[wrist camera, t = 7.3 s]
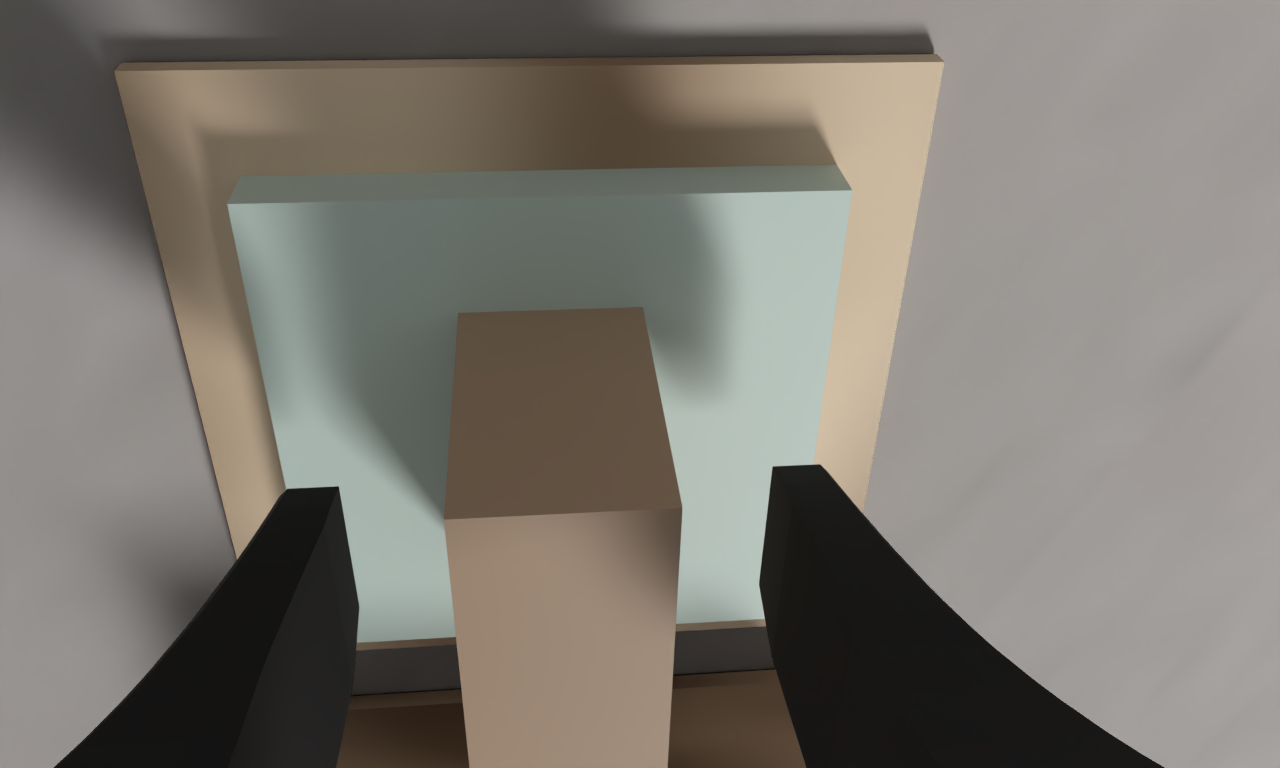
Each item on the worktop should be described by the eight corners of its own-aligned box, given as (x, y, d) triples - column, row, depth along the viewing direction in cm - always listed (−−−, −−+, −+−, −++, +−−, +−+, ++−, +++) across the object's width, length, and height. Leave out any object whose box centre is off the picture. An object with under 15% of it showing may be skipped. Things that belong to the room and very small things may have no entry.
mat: (264, 643, 19) (261, 656, 19) (121, 62, 13) (113, 71, 13) (839, 608, 20) (843, 621, 20) (936, 54, 14) (944, 62, 14)
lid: (325, 607, 18) (275, 882, 14) (240, 176, 14) (134, 399, 10) (781, 582, 19) (854, 836, 15) (836, 164, 15) (960, 367, 11)
